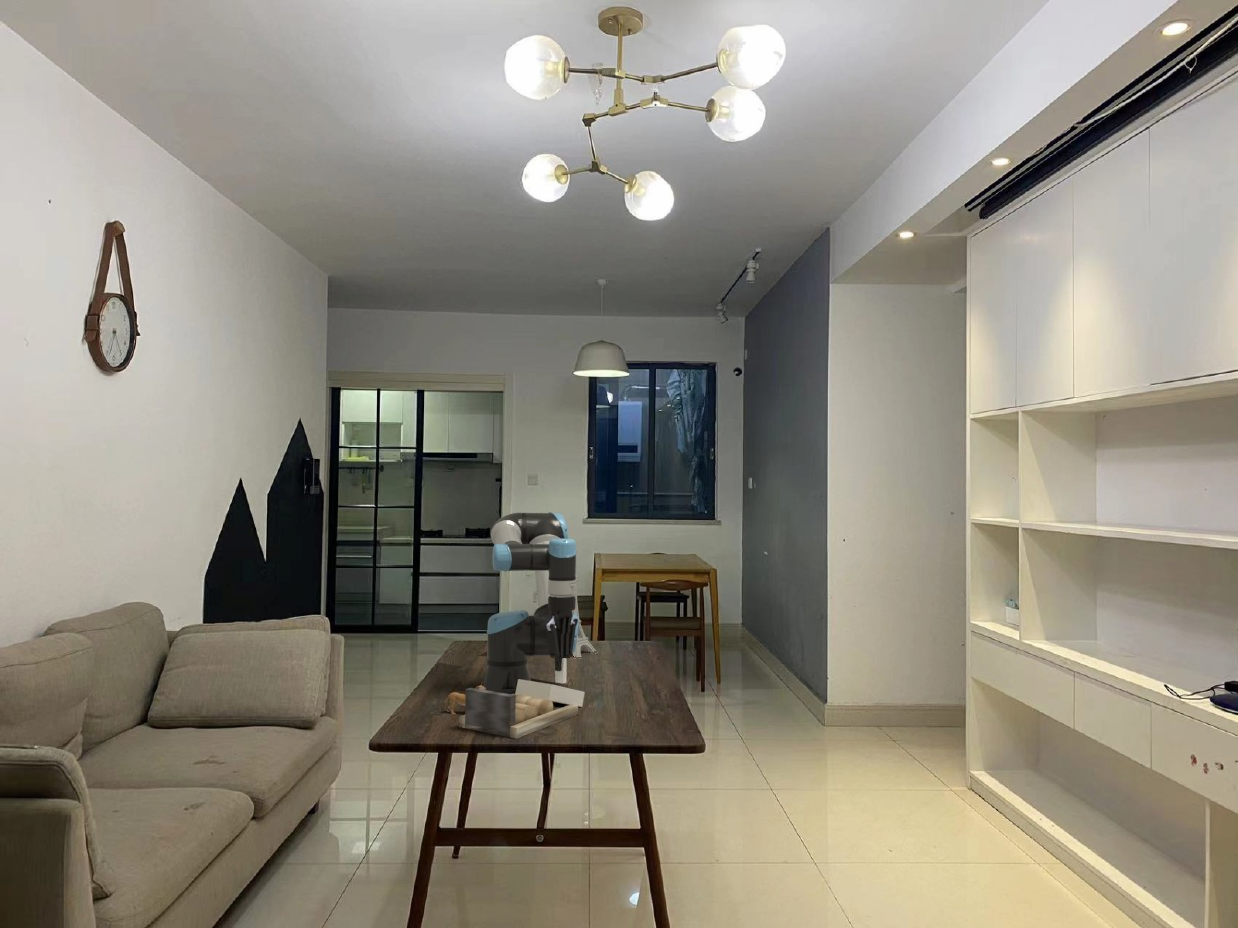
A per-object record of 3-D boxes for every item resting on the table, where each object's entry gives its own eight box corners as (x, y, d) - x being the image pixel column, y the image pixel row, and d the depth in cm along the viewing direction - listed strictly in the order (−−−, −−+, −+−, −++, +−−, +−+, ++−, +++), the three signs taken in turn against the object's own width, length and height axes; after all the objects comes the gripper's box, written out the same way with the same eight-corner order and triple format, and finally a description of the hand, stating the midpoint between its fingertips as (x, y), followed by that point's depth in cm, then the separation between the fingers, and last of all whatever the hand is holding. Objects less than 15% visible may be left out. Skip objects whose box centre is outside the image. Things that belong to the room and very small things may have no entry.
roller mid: (501, 701, 218) (497, 717, 216) (492, 698, 215) (488, 714, 213) (539, 707, 212) (535, 724, 210) (530, 704, 209) (526, 721, 207)
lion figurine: (486, 711, 223) (487, 684, 224) (484, 716, 219) (485, 687, 219) (441, 711, 223) (441, 683, 223) (438, 716, 218) (439, 687, 219)
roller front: (489, 705, 214) (485, 721, 212) (479, 702, 211) (475, 718, 209) (527, 711, 208) (523, 728, 206) (518, 709, 204) (514, 726, 203)
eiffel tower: (578, 660, 294) (579, 573, 295) (547, 656, 301) (548, 571, 302) (598, 654, 306) (599, 571, 307) (568, 650, 313) (569, 569, 314)
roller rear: (510, 691, 222) (518, 697, 225) (504, 706, 220) (512, 712, 223) (547, 697, 216) (554, 703, 218) (542, 712, 214) (549, 718, 216)
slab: (515, 694, 222) (518, 679, 224) (549, 701, 235) (552, 686, 236) (548, 700, 217) (551, 684, 218) (582, 707, 229) (584, 692, 231)
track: (458, 727, 208) (459, 688, 209) (523, 705, 230) (523, 670, 231) (516, 738, 199) (517, 698, 199) (578, 714, 221) (578, 678, 221)
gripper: (559, 598, 223) (558, 688, 222) (586, 594, 235) (585, 679, 234) (536, 596, 227) (535, 685, 226) (564, 592, 238) (563, 676, 238)
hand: (560, 682), depth 230 cm, fingers closed
